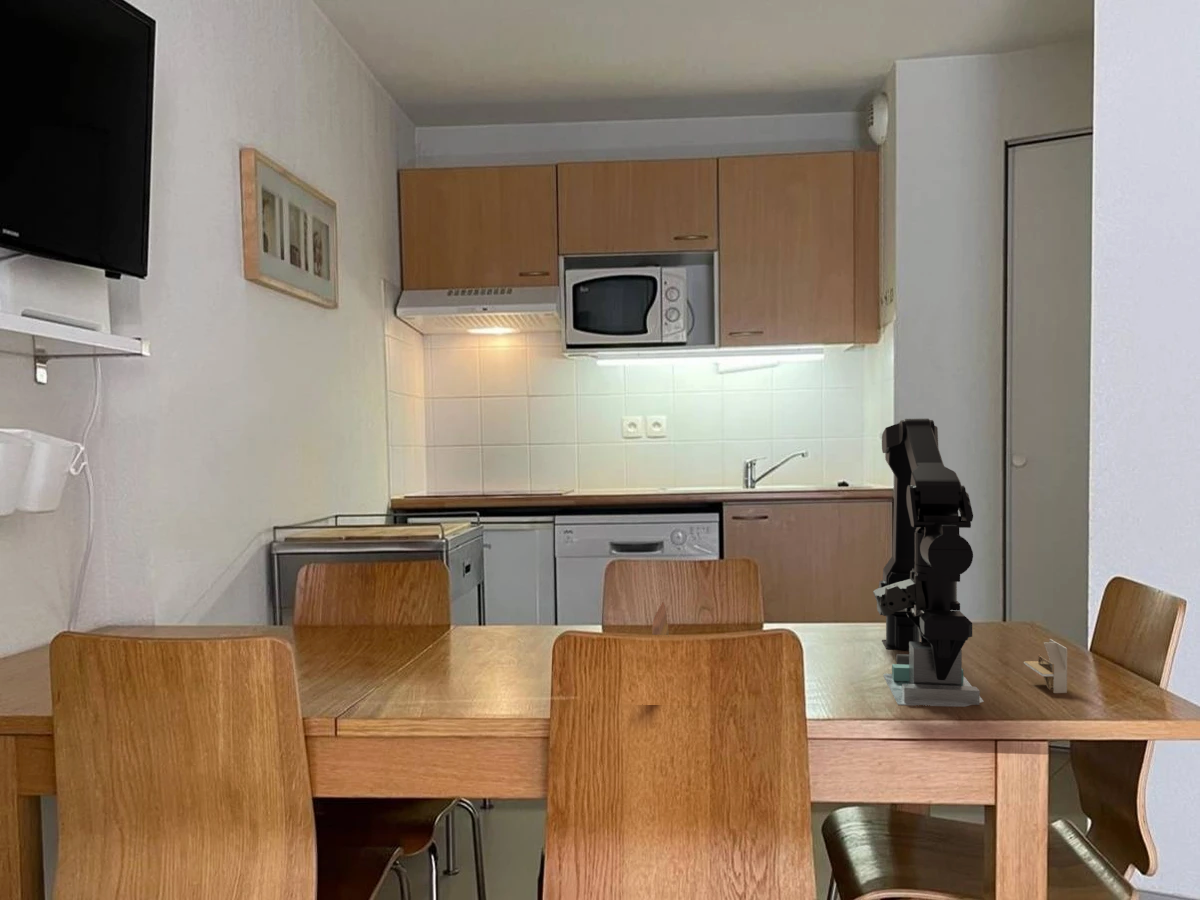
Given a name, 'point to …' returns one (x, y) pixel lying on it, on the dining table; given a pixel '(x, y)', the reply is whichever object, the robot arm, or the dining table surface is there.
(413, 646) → the dining table surface
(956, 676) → the steel block
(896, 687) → the vise base
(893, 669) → the free jaw
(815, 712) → the dining table surface
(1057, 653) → the architectural model
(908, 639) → the robot arm
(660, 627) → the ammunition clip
